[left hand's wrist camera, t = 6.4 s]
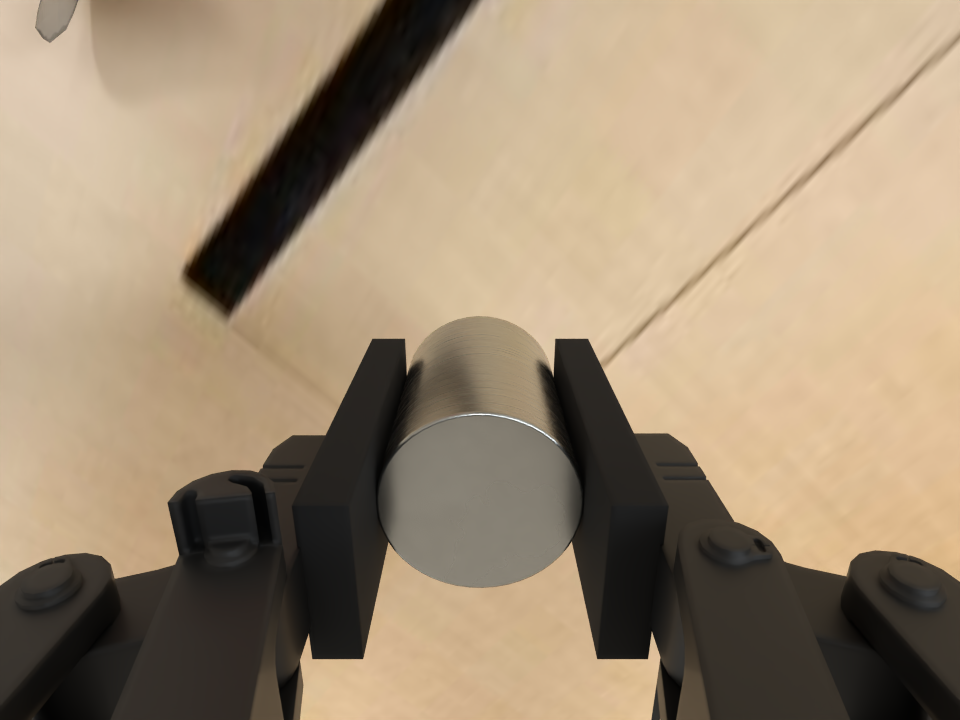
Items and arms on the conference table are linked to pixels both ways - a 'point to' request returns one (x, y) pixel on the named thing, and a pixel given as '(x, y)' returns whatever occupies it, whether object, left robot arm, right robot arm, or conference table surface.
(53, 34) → the fish
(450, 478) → the can
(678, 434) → the conference table surface
